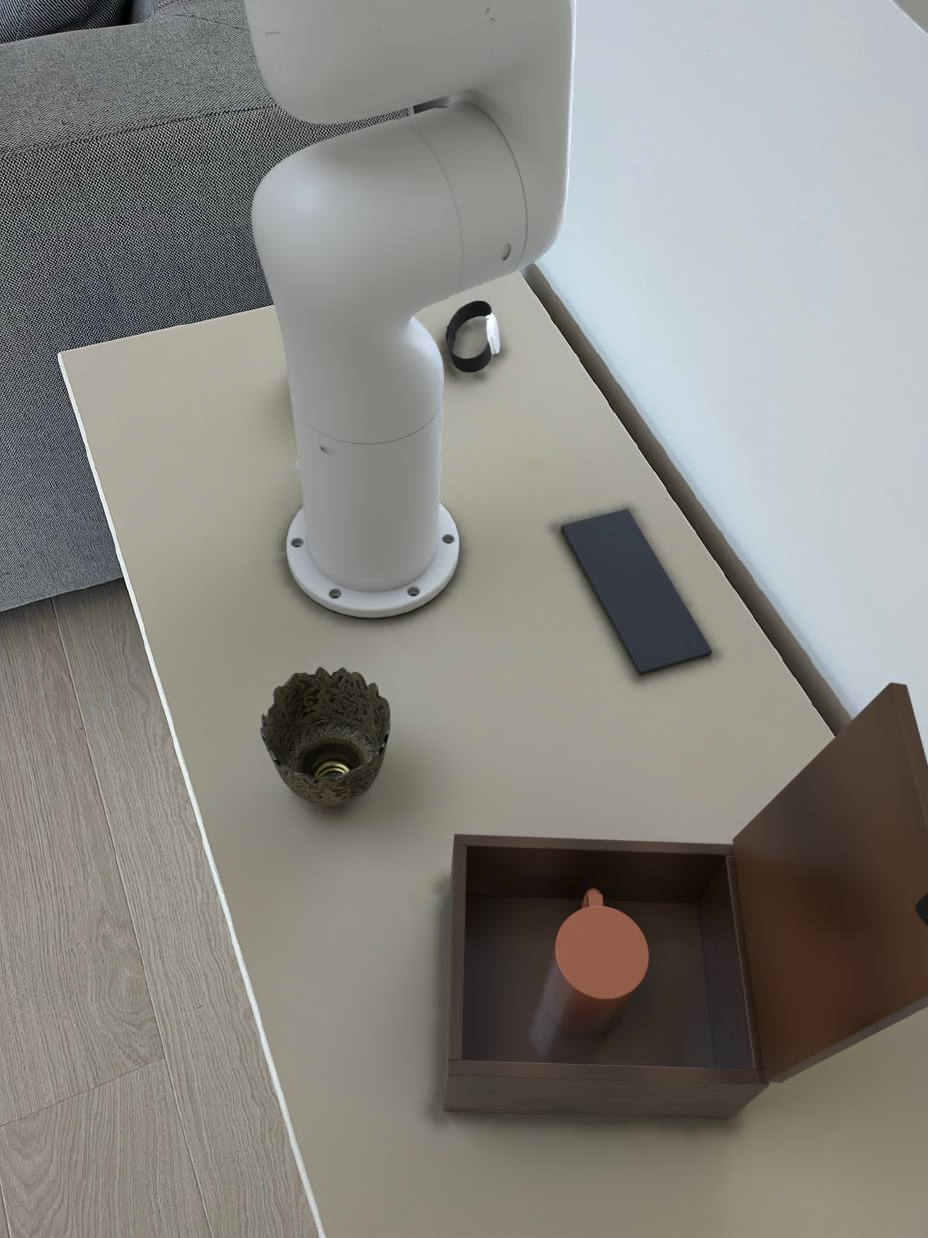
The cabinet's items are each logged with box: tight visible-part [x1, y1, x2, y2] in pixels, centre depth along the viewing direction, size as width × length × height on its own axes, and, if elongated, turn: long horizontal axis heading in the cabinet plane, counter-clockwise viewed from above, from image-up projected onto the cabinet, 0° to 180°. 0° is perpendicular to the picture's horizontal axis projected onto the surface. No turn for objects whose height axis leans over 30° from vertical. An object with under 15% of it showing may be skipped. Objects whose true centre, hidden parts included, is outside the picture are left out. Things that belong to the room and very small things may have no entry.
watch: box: [445, 300, 501, 374], centre depth 92 cm, size 8×5×4 cm, turn 175°
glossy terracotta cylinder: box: [541, 888, 649, 1038], centre depth 58 cm, size 6×5×7 cm
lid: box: [731, 681, 928, 1084], centre depth 48 cm, size 16×12×1 cm
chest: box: [442, 833, 771, 1120], centre depth 58 cm, size 15×12×8 cm
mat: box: [560, 508, 713, 676], centre depth 78 cm, size 14×6×1 cm, turn 20°
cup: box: [259, 666, 392, 807], centre depth 65 cm, size 8×7×8 cm
